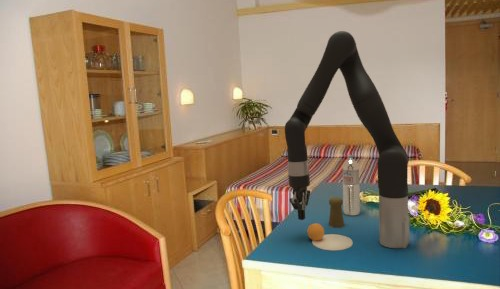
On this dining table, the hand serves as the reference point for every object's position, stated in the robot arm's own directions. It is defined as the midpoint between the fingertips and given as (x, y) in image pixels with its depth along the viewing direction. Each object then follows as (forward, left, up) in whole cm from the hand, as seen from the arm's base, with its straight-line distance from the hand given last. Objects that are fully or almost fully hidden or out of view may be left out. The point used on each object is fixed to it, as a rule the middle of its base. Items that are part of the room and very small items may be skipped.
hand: (301, 219), depth 147 cm
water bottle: (-7, -32, -7) cm, 34 cm away
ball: (-5, 0, -4) cm, 7 cm away
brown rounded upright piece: (-6, -17, -7) cm, 20 cm away
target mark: (-11, 0, -7) cm, 13 cm away
